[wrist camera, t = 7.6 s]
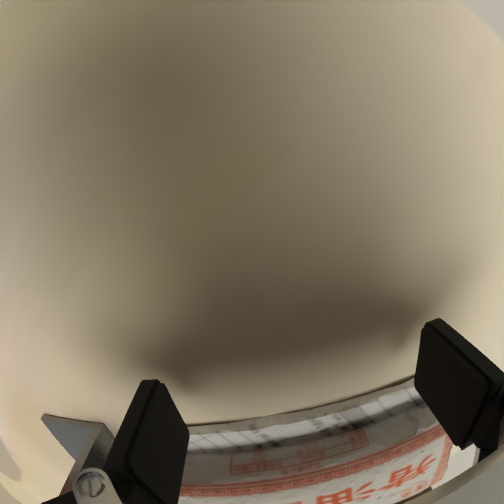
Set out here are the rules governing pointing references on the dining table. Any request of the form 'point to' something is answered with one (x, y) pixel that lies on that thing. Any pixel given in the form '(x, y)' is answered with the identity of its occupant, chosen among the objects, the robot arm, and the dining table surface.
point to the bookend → (81, 444)
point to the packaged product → (320, 454)
